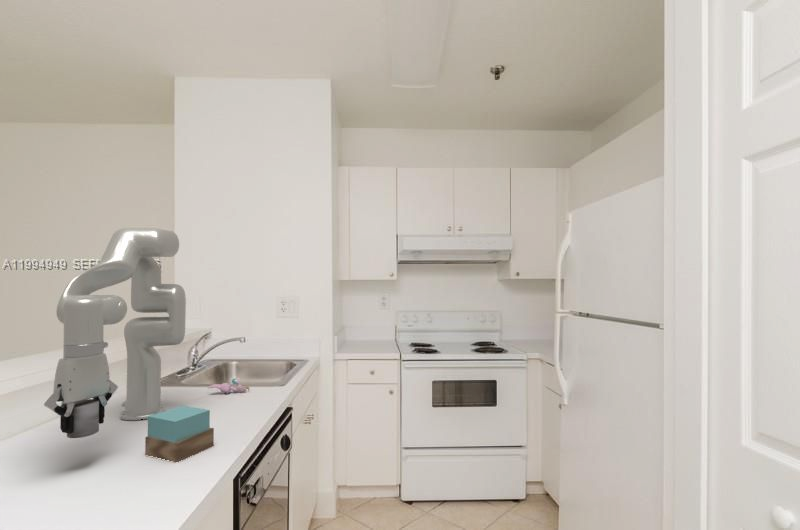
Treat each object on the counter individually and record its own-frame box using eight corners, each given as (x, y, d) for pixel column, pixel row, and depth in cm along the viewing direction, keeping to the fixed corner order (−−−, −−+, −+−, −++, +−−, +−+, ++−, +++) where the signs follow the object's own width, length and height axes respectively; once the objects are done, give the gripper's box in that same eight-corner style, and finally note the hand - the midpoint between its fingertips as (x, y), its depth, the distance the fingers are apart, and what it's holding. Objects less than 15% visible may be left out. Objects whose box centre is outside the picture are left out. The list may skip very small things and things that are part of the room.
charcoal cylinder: (60, 435, 97) (61, 405, 98) (88, 426, 103) (88, 398, 103) (77, 439, 95) (77, 408, 95) (104, 430, 101) (104, 400, 101)
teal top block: (147, 436, 106) (147, 416, 106) (183, 424, 115) (183, 405, 115) (174, 442, 101) (175, 421, 102) (209, 429, 110) (209, 410, 111)
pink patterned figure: (248, 393, 169) (207, 390, 164) (250, 378, 170) (210, 374, 165) (248, 397, 163) (206, 394, 158) (251, 381, 164) (209, 378, 159)
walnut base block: (145, 457, 105) (145, 437, 105) (182, 441, 115) (183, 423, 116) (177, 464, 101) (177, 443, 101) (213, 447, 111) (213, 428, 111)
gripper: (110, 343, 109) (110, 413, 109) (30, 356, 93) (29, 438, 93) (130, 345, 106) (129, 417, 106) (51, 358, 90) (50, 444, 90)
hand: (83, 426), depth 99 cm, fingers closed on charcoal cylinder, 6 cm apart
